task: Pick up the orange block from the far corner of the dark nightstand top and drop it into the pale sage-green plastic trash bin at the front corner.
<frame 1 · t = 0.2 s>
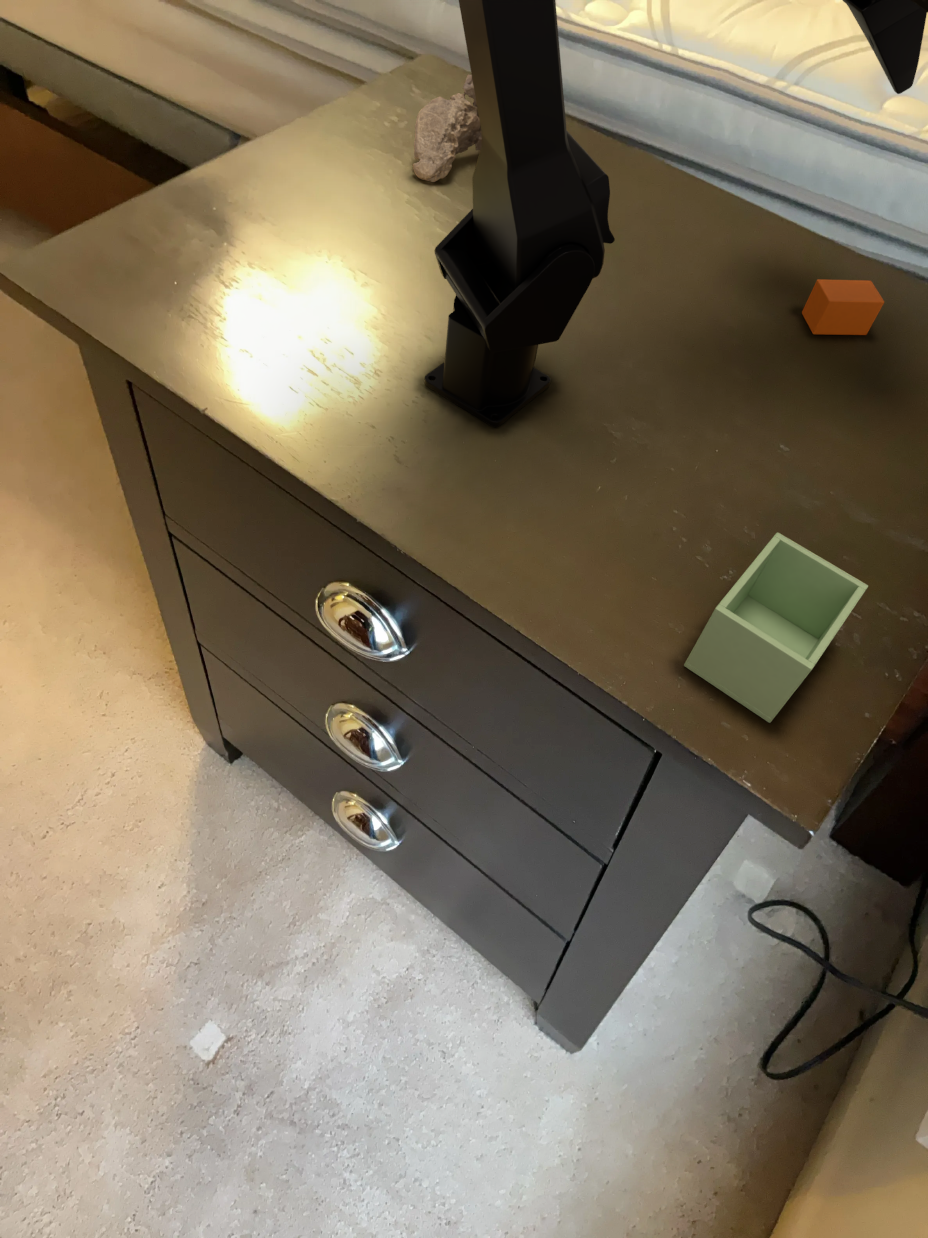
rock: (485, 164, 78), on the nightstand
trash bin: (755, 654, 49), on the nightstand
orange block: (833, 323, 68), on the nightstand
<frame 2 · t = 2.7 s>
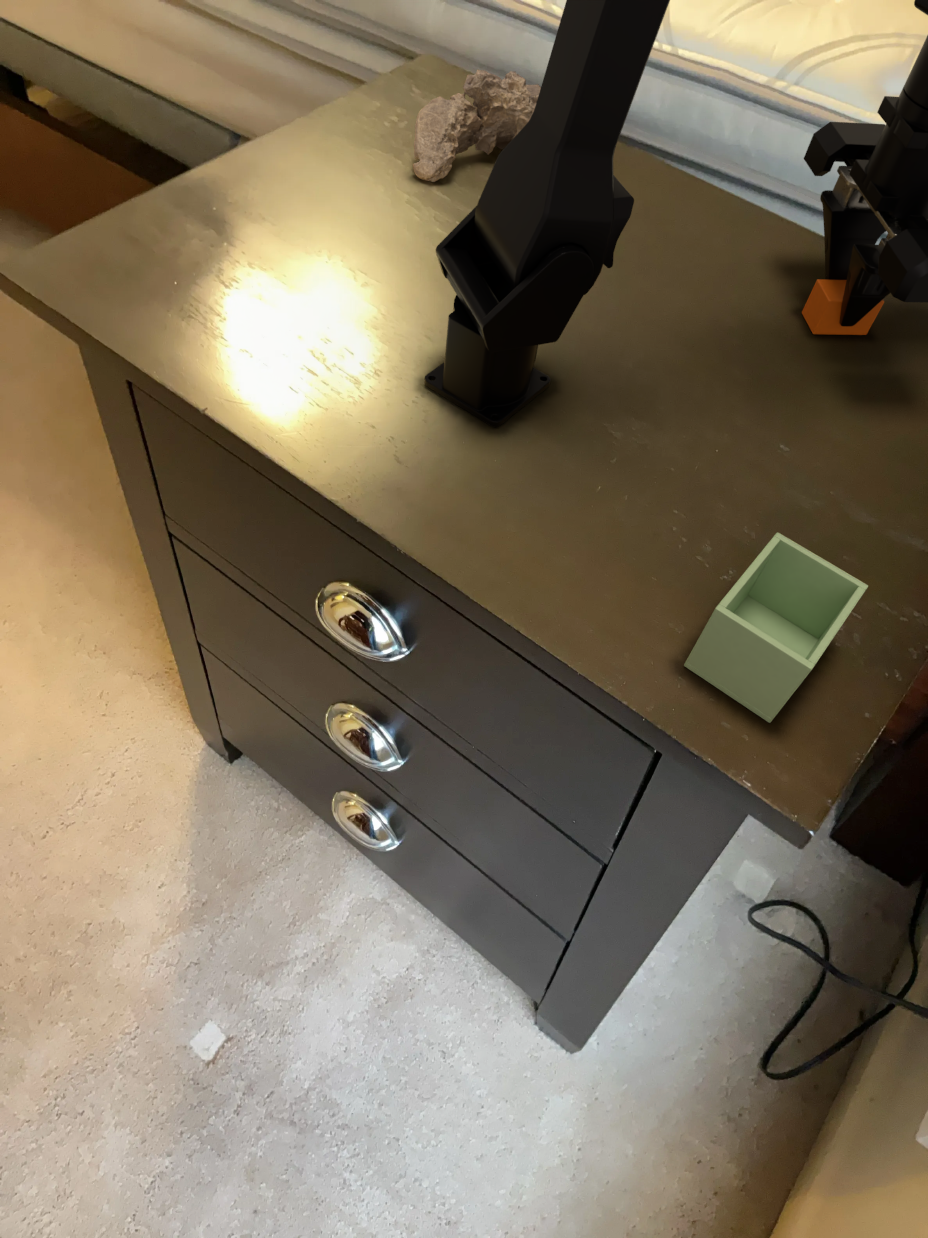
hand: (839, 312, 67), 1 cm above the nightstand, tool pointing down, fingers closed on orange block, 3 cm apart
orange block: (833, 323, 68), on the nightstand, touching gripper
everything else where it was.
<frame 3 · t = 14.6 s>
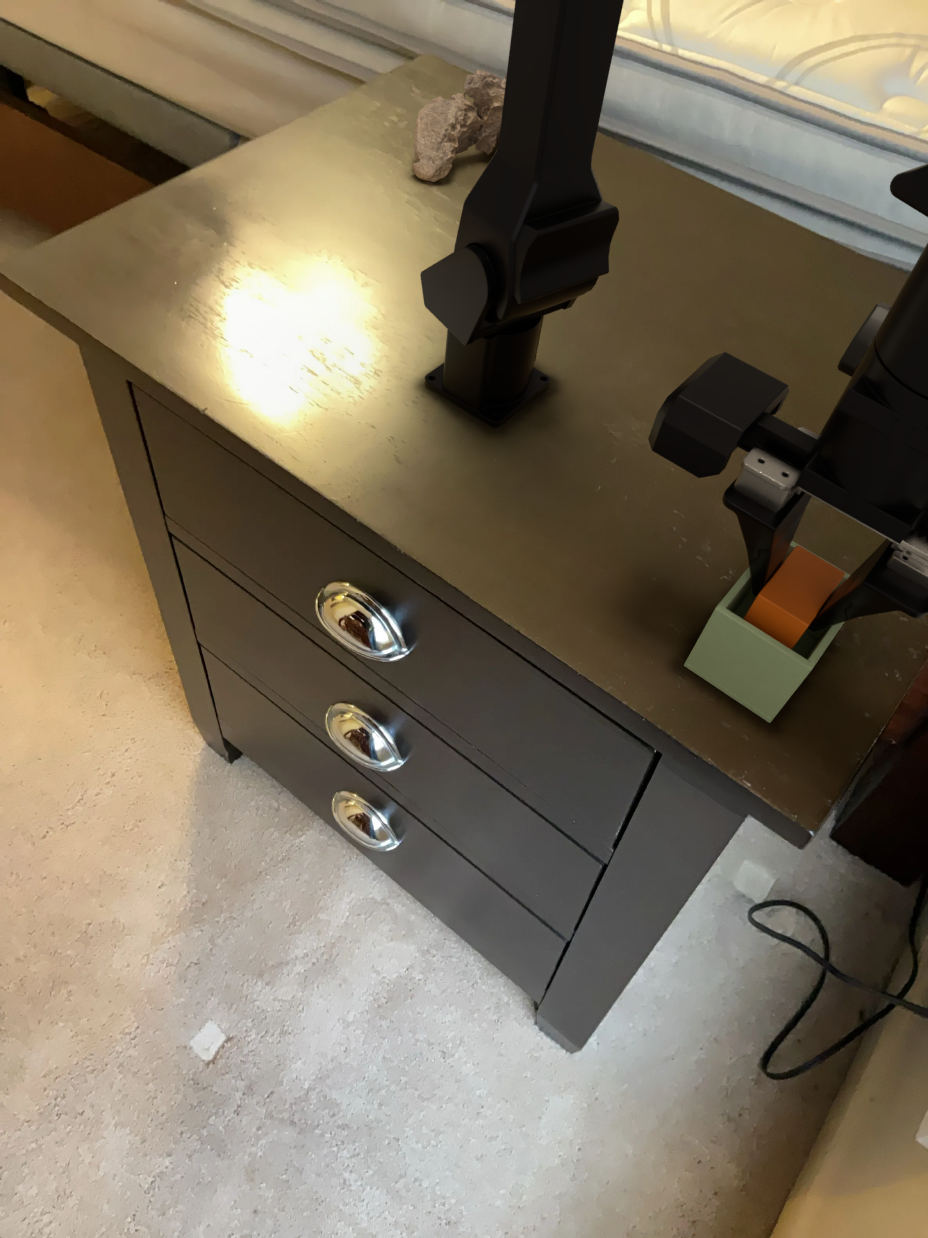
hand: (786, 607, 45), 4 cm above the nightstand, tool pointing down, fingers closed on orange block, 3 cm apart
orange block: (779, 617, 46), point 3 cm above the nightstand, touching gripper
everything else where it was.
when the fingers open (7 cm above the nightstand, at t = 15.4 s): orange block drops 5 cm, resting on trash bin.
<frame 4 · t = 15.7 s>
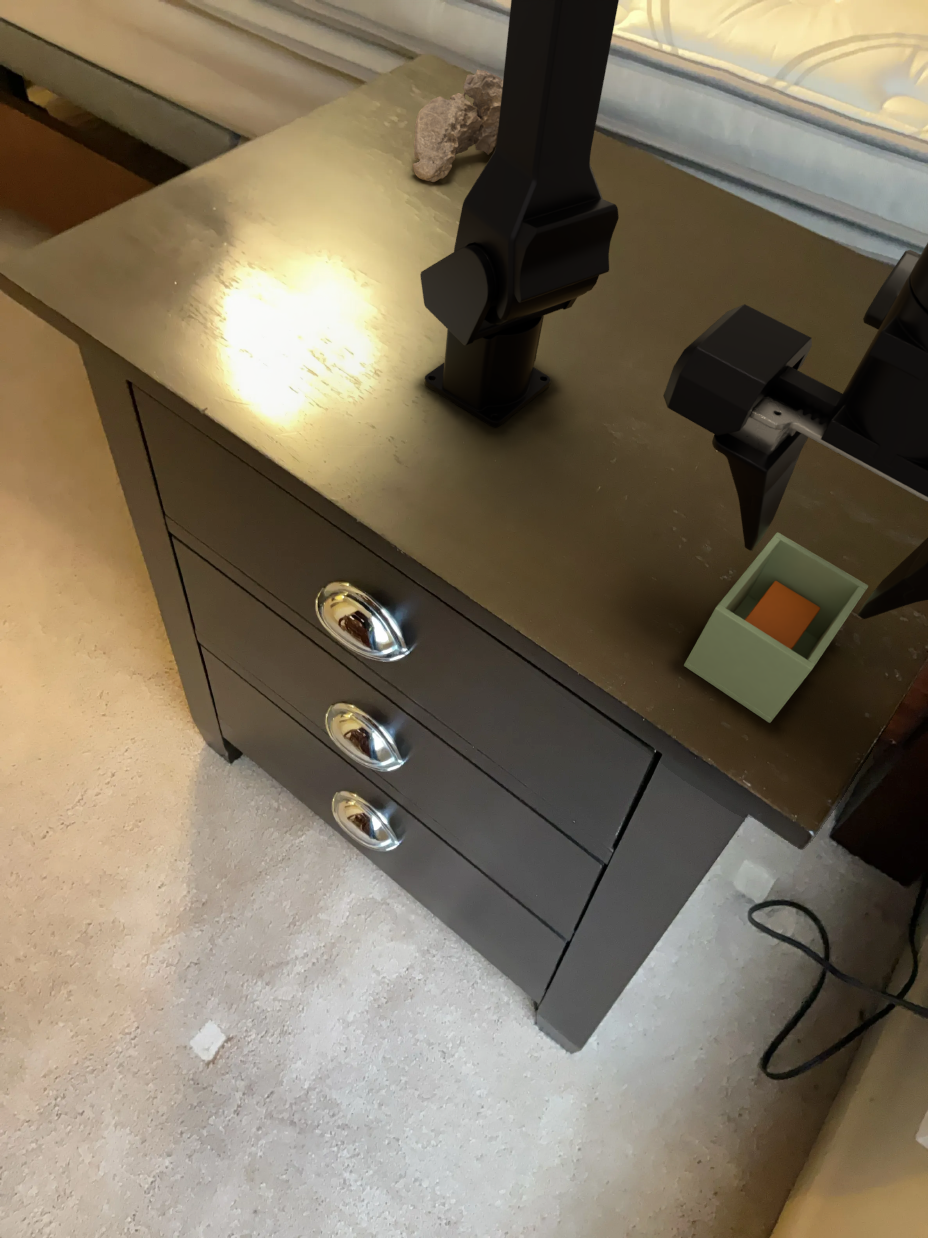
hand: (806, 577, 43), 7 cm above the nightstand, tool pointing down, fingers open, 6 cm apart
orange block: (759, 649, 48), resting on trash bin
everything else where it was.
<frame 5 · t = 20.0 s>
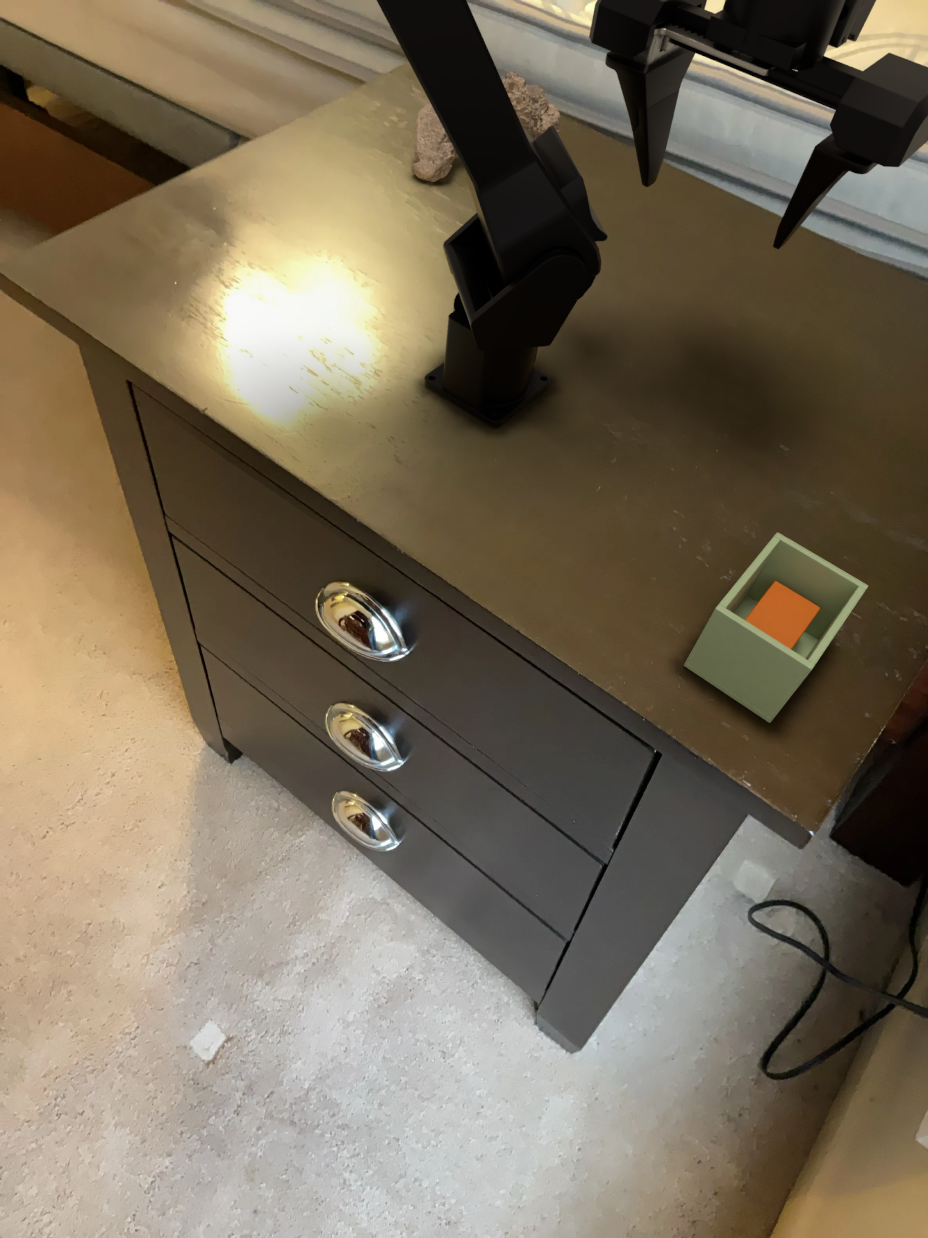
hand: (712, 214, 53), 12 cm above the nightstand, tool pointing down, fingers open, 9 cm apart
nothing on the nightstand moved.
at the end: orange block 0.1 cm off-centre in the trash bin, point 0.4 cm above the trash bin's base; the gripper is holding nothing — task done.
